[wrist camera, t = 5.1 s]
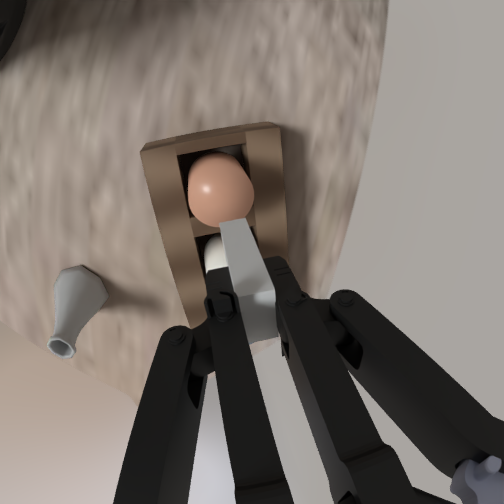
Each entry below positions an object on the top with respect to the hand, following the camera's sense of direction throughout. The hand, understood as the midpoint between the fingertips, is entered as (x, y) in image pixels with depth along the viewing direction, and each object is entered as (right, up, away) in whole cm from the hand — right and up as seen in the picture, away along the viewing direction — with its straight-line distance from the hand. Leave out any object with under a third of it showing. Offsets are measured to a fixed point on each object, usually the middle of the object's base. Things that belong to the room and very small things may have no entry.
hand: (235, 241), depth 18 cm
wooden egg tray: (-2, +1, +16) cm, 16 cm away
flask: (-20, -5, +16) cm, 26 cm away
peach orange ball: (-2, +6, +9) cm, 11 cm away
